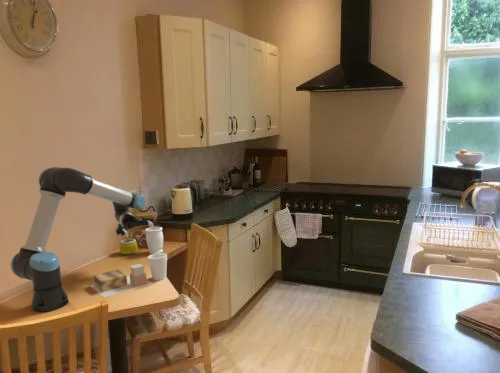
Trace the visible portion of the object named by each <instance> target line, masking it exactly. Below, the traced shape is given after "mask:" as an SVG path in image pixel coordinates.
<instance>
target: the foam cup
mask: <svg viewBox="0 0 500 373" xmlns="http://www.w3.org/2000/svg"><path fill="white" fill-rule="evenodd" d="M147 262H148V266H149V269H150V273H151V274H150V275H151V278H152V280H153V281H163V280H164V279H165V280H166V278H167V271H168V270H167V269H168V266H167V265H168V255H167V253H164V252H161V253H156V254H150V255H148V256H147Z"/></svg>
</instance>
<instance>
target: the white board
mask: <svg viewBox="0 0 500 373" xmlns="http://www.w3.org/2000/svg"><path fill="white" fill-rule="evenodd" d="M126 277H127V285H126V286H123V287H119V288H116V289H112V290H109V291H105V292H102V291H101V290H100V289H99V288H97V287H96V286H95V284H92V285H90V287H91V288H92V289H93V290H94V291H95V292H96V293H98V294H99V295H100V296H101V297H102V298H103V299H104V298H108V297H111V296H114V295H115V296H116V295H118V294H121V293H124V292H128V291H132V290H135V289H139V288H143V287H146V286H149V285H153V282H151V281H149V280H148V279H147V284H144V285H140V286H137V287H135V286H133V285H132V284H131V283H130V274H129V275H126Z"/></svg>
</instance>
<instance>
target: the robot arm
mask: <svg viewBox="0 0 500 373" xmlns="http://www.w3.org/2000/svg"><path fill="white" fill-rule="evenodd" d="M38 184H39V186H40V187H39V194H40V195H41V196H40V198H39V202H38V205H37V208H36V210H35V211H36V212H35V214H34V218H33V220H32V224H31V227H30V229H29V233H28V235H27V239H26V241H25V244H23V245H22V246H20V249H19V252H17V253H16V254H15V255H14V256H13V257H12V259H11V262H10V269H11V271H12V273H13V274H14V275H15V276H17V277H19V278H21V279H25V280H28V281H32V287H33V295H32V299H31V303H30V305H31V310H32V311H33V312H37V313H43V312H46V313H47V312H52V311H55V310H58V309H60V308H63V307H64V306H66V305H67V304H68V303H69V297H68V294H67V292H66V291H65V289H64V287H63V282H62V281H63V280H62V274H61V273H62V272H61V266H60V264H61V263H60V260H59V256H58V254H56V253H55V252H51V251H49V252H48V251H47V249H46V246H47V243H48V240H49V236H50V234H51V230H52V227H53V224H54V221H55V218H56V216H57V215H56V214H57V212H58V209H59V205H60V203H61V200H63V199H65V197H66V194H67V193H76V194H81V195H92V196H94V197H97V198H101V199H104V200H106V201H110V202H112V205H113V208H114V217H115V220H116V221H117V222H118V224H117V228H116V229H115V232H116V236H119V235H121V236H125V238H126V237H128V238H129V233H128V230H131V229H134V228H135V227H140V226H149V228H150V227H151V228H152V229H154V227H155V226H154V224H155V219H154V218H151V217H150V218H149V217H144V216H141V217H140V218H137V217H136V216H135V215H133V214H132V213H131V212H130V210H129V208H131V209H136V210H137V209H138V210H140V209H143V208H145V206H146V202H147V201H146V198H145V196H144V195H142V194H136V193H133V192H130V191H127V190H125V189H123V188H119V187H116V186H114V185H110V184H108V183H105V182H103V181H100V180H97V179H94V178H93V176H92V175H89V174H87V173H84V172H82V171H80V170H77V169H75V168H71V167H57V166H52V167H48V168H45V169H44V170H42V172H41V173H40V174H39V176H38Z"/></svg>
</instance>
